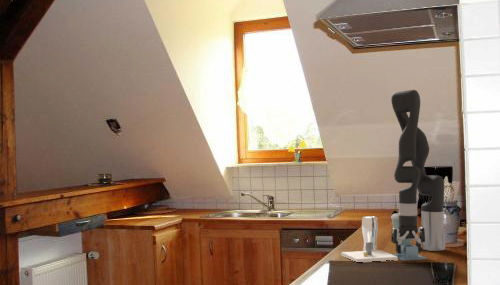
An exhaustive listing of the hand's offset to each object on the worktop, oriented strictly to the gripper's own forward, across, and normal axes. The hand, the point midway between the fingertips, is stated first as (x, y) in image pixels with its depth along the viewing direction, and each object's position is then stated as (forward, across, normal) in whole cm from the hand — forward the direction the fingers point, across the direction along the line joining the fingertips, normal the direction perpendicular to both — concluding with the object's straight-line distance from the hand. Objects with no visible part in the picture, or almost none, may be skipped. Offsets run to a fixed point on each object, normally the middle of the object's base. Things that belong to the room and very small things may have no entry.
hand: (408, 253), depth 237 cm
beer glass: (+2, +8, -20) cm, 22 cm away
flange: (+2, 0, 0) cm, 2 cm away
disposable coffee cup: (+2, -13, -29) cm, 32 cm away
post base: (+2, +16, -4) cm, 16 cm away
